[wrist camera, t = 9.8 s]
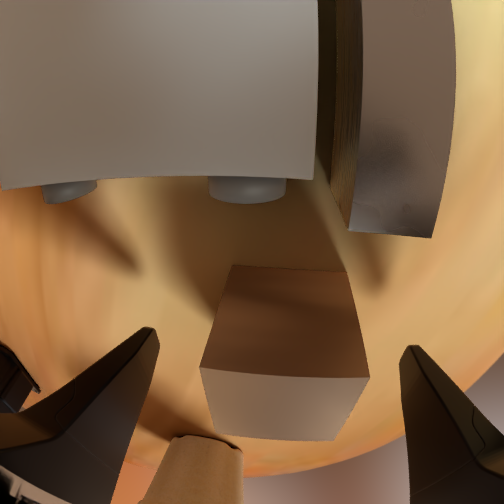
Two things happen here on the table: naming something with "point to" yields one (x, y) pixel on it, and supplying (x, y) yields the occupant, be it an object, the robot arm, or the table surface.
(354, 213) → the buffer
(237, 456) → the flower pot
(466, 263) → the table surface
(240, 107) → the cart
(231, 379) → the block
